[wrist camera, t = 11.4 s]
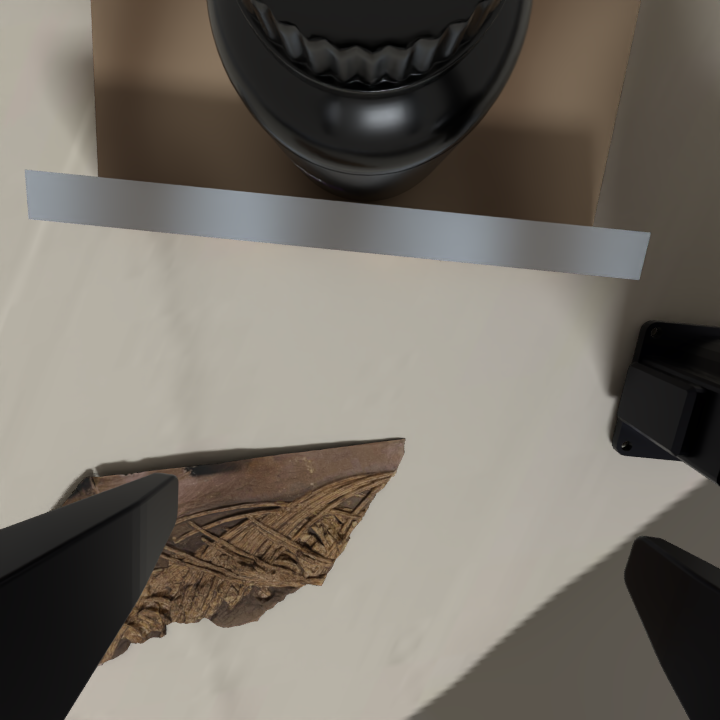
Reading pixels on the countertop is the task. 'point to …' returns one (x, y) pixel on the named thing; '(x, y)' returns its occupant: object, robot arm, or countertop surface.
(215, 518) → the wooden fragment
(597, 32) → the cleat board
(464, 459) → the countertop surface
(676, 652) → the robot arm
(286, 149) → the supplement bottle
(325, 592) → the countertop surface
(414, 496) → the countertop surface
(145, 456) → the countertop surface
